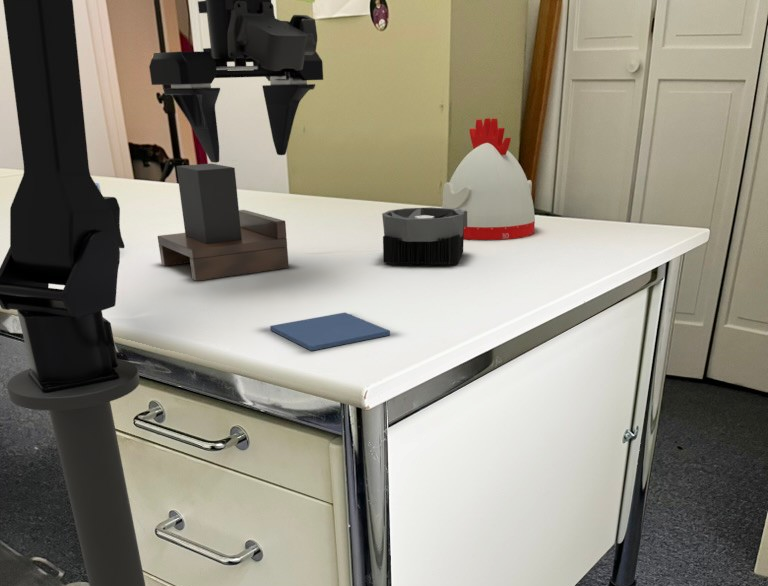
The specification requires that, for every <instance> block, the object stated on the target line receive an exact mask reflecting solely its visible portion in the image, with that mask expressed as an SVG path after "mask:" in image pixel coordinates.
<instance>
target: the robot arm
mask: <svg viewBox="0 0 768 586" xmlns="http://www.w3.org/2000/svg"><path fill="white" fill-rule="evenodd" d="M2 3H3V11H4V19H5V26H6V27H5V28H6V35H7V43H8V50H9V60H10V67H11V74H12V82H13V83H12V84H13V91H14V99H15V107H16V114H17V124H18V130H19V139H20V146H21V154H22V155H21V156H22V162H23V175H22V178H21V180H20V182H19V185H18V188H17V190H16V192H15V195H14V197H13V200H12V202H11V205H10V209H9V249H8V250H7V252H6V254H5V256H4V259H3V261H2V263H1V265H0V308H1V309H2V310H6V311H10V310H14V311H16V313H17V316H18V320H19V324H20V328H21V333H22V337H23V342H24V346H25V350H26V354H27V358H28V363H29V367H30V368H31V369H30V368H27V369H28V375H29V376H30V377H31V379H32V380H33V381H34V382H35V384H36V385H37V386H38V387H39V389H40V390H41V391H42V392H43V393H51V392H56V391H61V390H66V389H71V388H76V387H81V386H86V385H92V384H97V383H102V382H107V381H112V380H117V379H119V373H118V372H117V371H116V370H115V369H114V368H116V367H117V366H118V361H117V359H118V357H117V355H118V354H117V351H116V344H115V339H114V335H113V329H112V324H111V322H110V321H109V320H108V319H106V318H105V317H104V316H103V311H106V310H108V309H111V308H114V307H115V306H116V303H117V289H118V276H119V275H118V274H119V267H120V262H121V261H120V260H121V251H120V249H124V248H126V247H125V243H124V240H123V237H122V233H121V223H120V219H121V206H120V204H119V201H118V199H117V198H116V197H115V196H104V195H103V194H102V191H101V192H100V191H99V189H98V187H97V186H96V184H95V183H96V182H95V181H94V178H92V176H91V171H90V165H89V155H88V154H89V153H88V145H87V144H88V143H87V135H86V123H85V115H84V114H85V113H84V104H83V103H84V102H83V94H82V83H81V74H80V72H81V71H80V63H79V53H78V43H77V32H76V31H77V30H76V23H75V22H76V21H75V14H74V13H75V12H74V1H73V0H2ZM197 7H198V14H206V17H207V27H208V37H209V43H210V44H209V45H210V46H209V47H205V48H204V47H203V48H202V51H168V52H166V51H165V52H154V53H153V55H152V58H151V60H150V63H149V66H148V68H149V75H150V76H149V77H150V82H151V86H166V85H168V86H169V85H170V88H163V93H164V95H165V96H168V95H170V96H171V97H172V99H173V100H174V102H175V103H176V105H177V107H178V108H179V110H180V111H181V112H182V113H183V115H184V117H185V119H186V120H187V122H188V123H189V125H190V126H191V129H192V131H193V133H194V134H195V136H196V137H197V139H198V141H199V143H200V145H201V147H202V149H203V150H204V152H205V154H206V156H207V157H208V160H209V161H210V163H214V164H216V163H219V162H220V142H219V141H220V140H219V132H218V123H217V114H216V103H217V100H218V97H219V94H220V92H221V87H212V84H213V82H214V80H215V79H229V78H230V79H233V78H235V79H236V78H266V80H267V81H268V82H269V83H270V84H265V85H264V84H262V85H261V86H262V92H263V97H264V102H265V106H266V107H265V108H266V112H267V117H268V121H269V122H268V123H269V127H270V132H271V137H272V138H271V139H272V142H273V145H274V149H275V153H276V155H278V156H285V155H286V154H287V150H288V146H289V142H290V138H291V133H292V129H293V125H294V121H295V118H296V114H297V111H298V108H299V106H300V105H299V104H300V102H301V100H302V99H303V98H304V97H305V96H306V94H307V93H308V92H309V91H311V90H315V88H316V84H315V83H309V84H308V81H324V64H323V63H324V62H323V59H322V58H321V56H320V55H319V53H318V52H317V46H318V31H317V23H316V19H315V18H313V17H311V16H309V15H308V14H307V15H306V14H293V15H292V17H291V18H290V20H280V19H278V18H276V16H275V9H274V7H275V6H274V4H273V3H272V0H198V1H197ZM228 63H234V65H232V66H231V65H228ZM247 63H252V65H247ZM49 285H57V286H64V287H63V288H55V287H49Z"/></svg>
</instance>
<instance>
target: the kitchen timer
mask: <svg viewBox="0 0 768 586" xmlns="http://www.w3.org/2000/svg"><path fill="white" fill-rule="evenodd" d="M468 130H469V136H470V141H471V146H472V150H471V151H470V152H469V153H467V154H466V155H465V157H464V158H463V159H462V160H461V162H459V164H458V166H457V168H456V169H455V171H454V172H453V174H452V176H451V178H450V180H449V182H448V181H447V182H445V183H444V184H443V188H442V205H441V208H448V209H460V210H464V211H467V227H464V240H473V241H475V240H476V241H500V240H513V239H519V238H525V237H528V236H531V235H533V234H535V224H536V219H535V218H536V217H535V215H536V214H535V207H534V202H533V197H532V191H533V183H532V180H531V179H527V175H526V173H525V172H524V169H523V168H522V166H521V164H520V163H519V161H518V160H517V159H516V157H515V156H514V155H513V153H511V152H510V150H509V147H510V144H511V139H512V137H505V138H504V135H505V131H506V129H505V127H499V122H498V118H490V117H489V118H484V120H483V119H476V120H475V128H469V129H468Z"/></svg>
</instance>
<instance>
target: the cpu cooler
mask: <svg viewBox="0 0 768 586" xmlns="http://www.w3.org/2000/svg"><path fill="white" fill-rule="evenodd" d="M381 213H382V212H381ZM381 216H382V226H383V236H382V258H383V260H382V261H383V262H382V263H389V265H403V264H405V265H406V264H407V265H431V266H433V265H435V266H436V265H439V266H440V265H442V266H444V265H448V266H450V265H453V264H459V261H460V259H461V258H462V255H463V253H464V243H465V242H464V240H465V239H464V227H467V211H464V210H460V209H448V208H442V207H434V206H433V207H429V206H428V207H407V208H404V207H403V208H398V209H392V210H387V211H385V212H383V213H382V214H381Z"/></svg>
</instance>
